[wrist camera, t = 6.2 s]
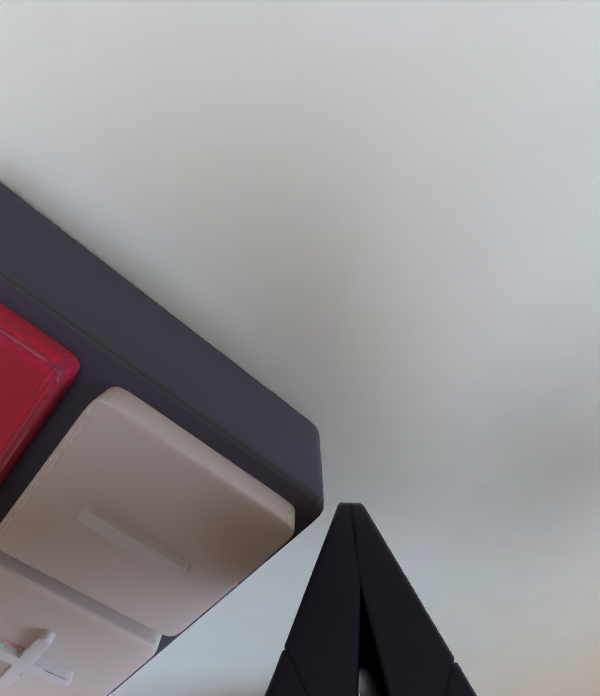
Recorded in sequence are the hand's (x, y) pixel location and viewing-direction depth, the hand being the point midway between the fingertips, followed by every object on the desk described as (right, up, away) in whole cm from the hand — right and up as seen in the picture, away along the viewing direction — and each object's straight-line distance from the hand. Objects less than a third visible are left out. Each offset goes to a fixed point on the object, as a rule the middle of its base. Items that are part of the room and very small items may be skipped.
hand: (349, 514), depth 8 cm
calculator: (-9, 0, +3) cm, 10 cm away
